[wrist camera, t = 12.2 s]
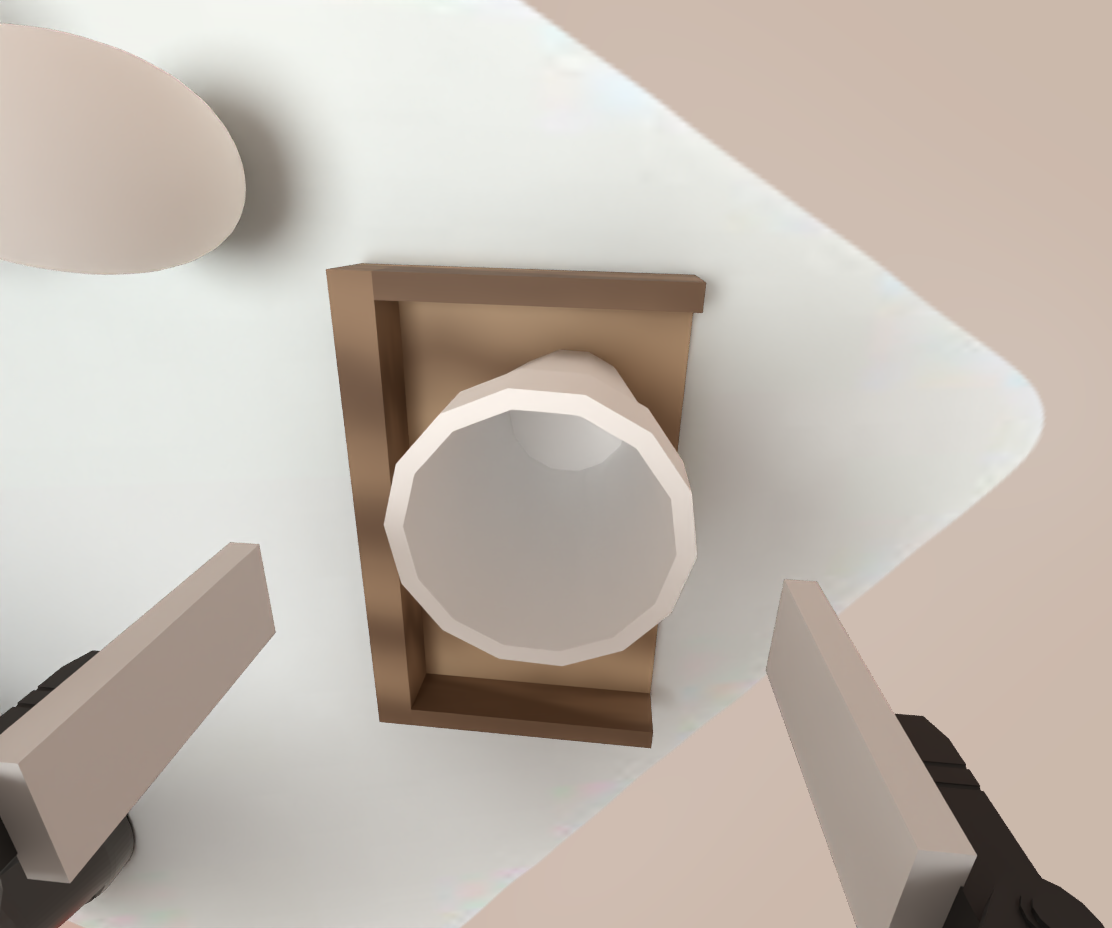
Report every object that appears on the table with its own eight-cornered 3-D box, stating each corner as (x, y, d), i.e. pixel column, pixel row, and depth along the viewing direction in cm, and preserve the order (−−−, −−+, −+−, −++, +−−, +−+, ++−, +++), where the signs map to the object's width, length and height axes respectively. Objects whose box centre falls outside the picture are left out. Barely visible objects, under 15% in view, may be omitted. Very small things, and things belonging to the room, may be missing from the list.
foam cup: (626, 517, 32) (631, 698, 20) (460, 466, 31) (365, 618, 19) (691, 349, 28) (748, 446, 16) (505, 290, 28) (419, 342, 16)
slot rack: (647, 698, 37) (651, 748, 34) (401, 676, 38) (379, 721, 35) (694, 274, 27) (706, 282, 24) (361, 263, 29) (325, 269, 25)
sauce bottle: (151, 260, 30) (-442, 310, 13) (110, 77, 27) (-731, -161, 10) (301, 265, 29) (-123, 325, 12) (276, 79, 26) (-326, -173, 9)
